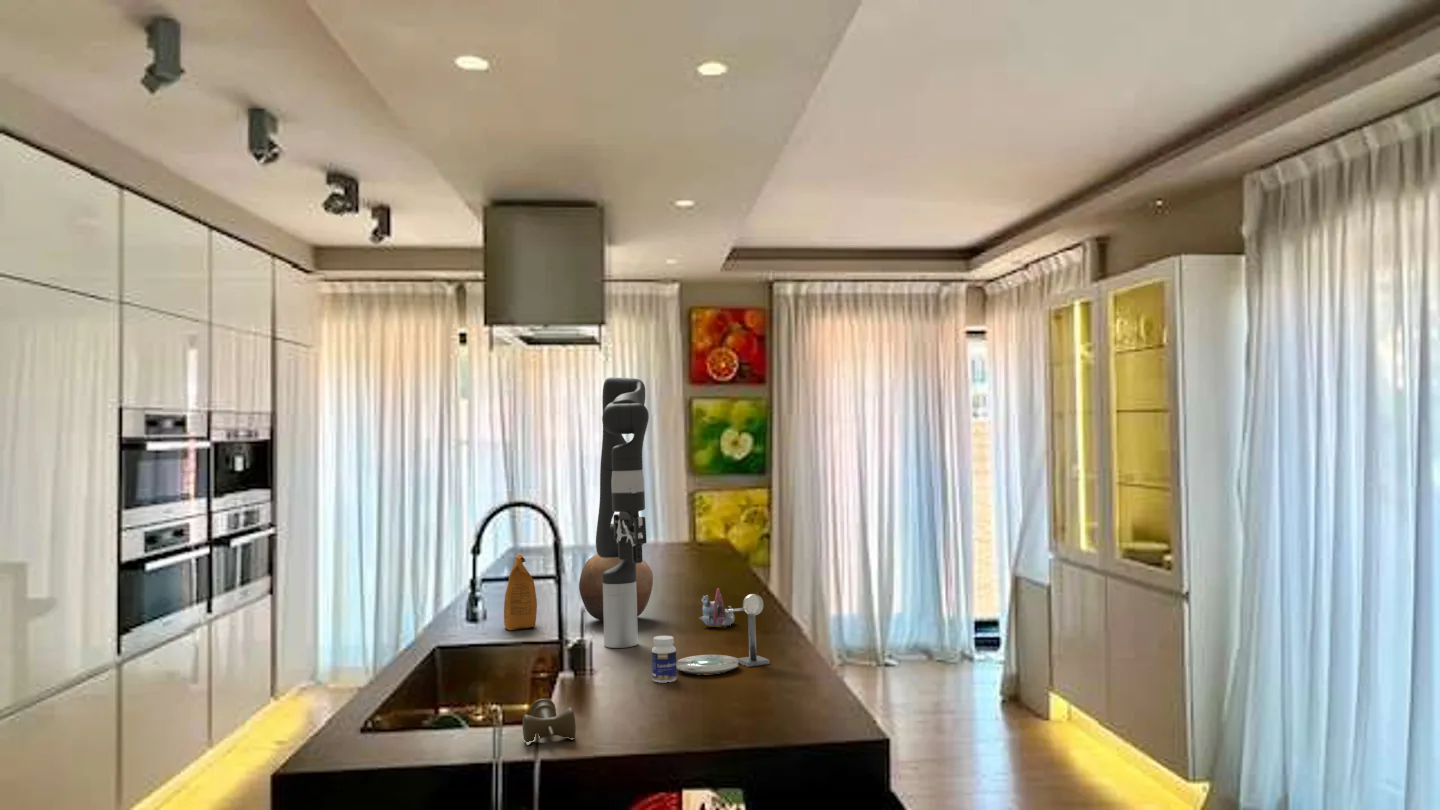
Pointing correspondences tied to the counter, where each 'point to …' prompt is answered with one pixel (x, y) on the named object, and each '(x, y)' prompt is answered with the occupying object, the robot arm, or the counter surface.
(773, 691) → the counter surface
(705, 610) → the grey and red figurine
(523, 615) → the coffee package
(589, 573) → the pottery
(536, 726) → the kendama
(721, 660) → the dish
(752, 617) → the dial stand
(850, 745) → the counter surface
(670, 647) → the pill bottle
